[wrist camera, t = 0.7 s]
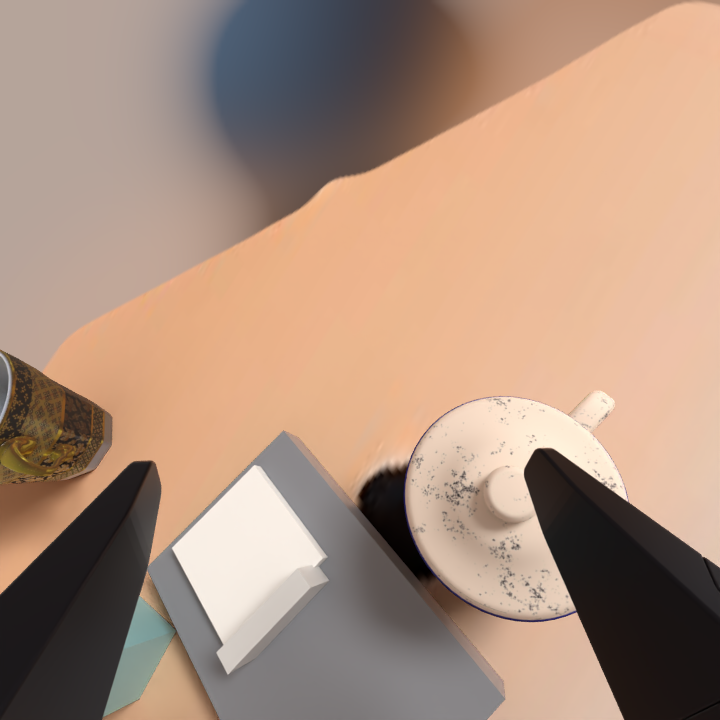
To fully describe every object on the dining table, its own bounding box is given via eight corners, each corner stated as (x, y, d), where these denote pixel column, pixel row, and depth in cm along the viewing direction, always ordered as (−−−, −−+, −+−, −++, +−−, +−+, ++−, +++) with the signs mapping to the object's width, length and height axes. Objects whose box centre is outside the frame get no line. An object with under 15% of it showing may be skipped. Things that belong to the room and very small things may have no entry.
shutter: (338, 571, 23) (320, 576, 21) (246, 668, 23) (217, 685, 20) (260, 466, 27) (237, 460, 25) (180, 547, 27) (148, 549, 24)
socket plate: (503, 680, 21) (505, 698, 19) (333, 872, 21) (314, 915, 18) (298, 437, 30) (283, 430, 28) (172, 564, 29) (146, 568, 27)
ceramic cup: (21, 465, 37) (-125, 446, 28) (87, 372, 39) (-30, 327, 30) (100, 541, 32) (-50, 548, 23) (171, 429, 34) (60, 395, 25)
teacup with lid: (509, 627, 22) (531, 717, 12) (398, 501, 26) (343, 486, 16) (653, 475, 23) (789, 435, 13) (523, 375, 27) (546, 284, 17)
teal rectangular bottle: (176, 630, 27) (-34, 702, 16) (139, 699, 26) (-111, 825, 15) (131, 588, 29) (-82, 627, 18) (95, 651, 28) (-153, 731, 17)
